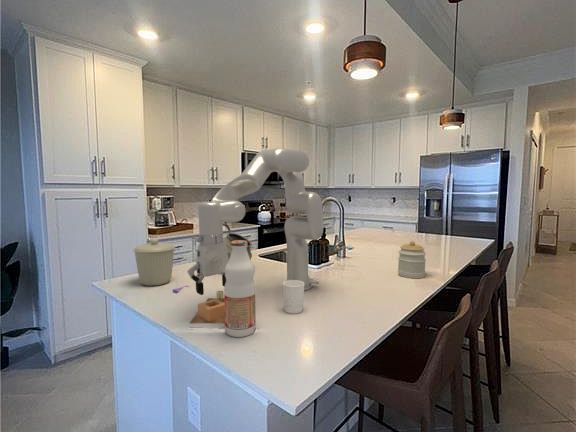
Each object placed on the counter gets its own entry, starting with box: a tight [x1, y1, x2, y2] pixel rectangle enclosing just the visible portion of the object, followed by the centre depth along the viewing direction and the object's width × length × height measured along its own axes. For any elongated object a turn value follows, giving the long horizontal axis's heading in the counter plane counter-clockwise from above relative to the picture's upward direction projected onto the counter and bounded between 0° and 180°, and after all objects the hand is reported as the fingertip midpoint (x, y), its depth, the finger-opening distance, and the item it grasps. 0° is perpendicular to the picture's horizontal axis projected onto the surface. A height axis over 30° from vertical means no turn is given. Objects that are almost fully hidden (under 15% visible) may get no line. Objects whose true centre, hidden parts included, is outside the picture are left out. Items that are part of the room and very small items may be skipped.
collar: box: [197, 299, 225, 322], centre depth 107 cm, size 7×7×4 cm
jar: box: [397, 240, 427, 279], centre depth 161 cm, size 13×13×18 cm
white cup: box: [282, 280, 305, 314], centre depth 115 cm, size 8×8×10 cm
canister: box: [132, 237, 176, 287], centre depth 148 cm, size 18×18×21 cm
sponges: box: [172, 285, 190, 294], centre depth 135 cm, size 7×13×2 cm, turn 50°
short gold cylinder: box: [216, 290, 224, 302], centre depth 117 cm, size 2×2×4 cm
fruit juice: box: [223, 240, 257, 338], centre depth 98 cm, size 9×9×28 cm
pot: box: [223, 222, 253, 261], centre depth 171 cm, size 21×21×25 cm
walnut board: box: [189, 297, 225, 329], centre depth 112 cm, size 12×23×2 cm, turn 179°
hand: (213, 290), depth 106 cm, fingers open, 9 cm apart
